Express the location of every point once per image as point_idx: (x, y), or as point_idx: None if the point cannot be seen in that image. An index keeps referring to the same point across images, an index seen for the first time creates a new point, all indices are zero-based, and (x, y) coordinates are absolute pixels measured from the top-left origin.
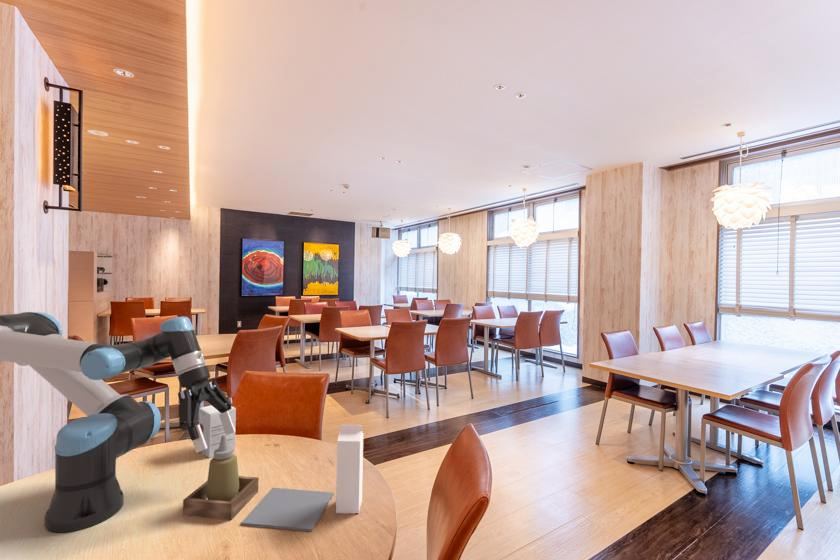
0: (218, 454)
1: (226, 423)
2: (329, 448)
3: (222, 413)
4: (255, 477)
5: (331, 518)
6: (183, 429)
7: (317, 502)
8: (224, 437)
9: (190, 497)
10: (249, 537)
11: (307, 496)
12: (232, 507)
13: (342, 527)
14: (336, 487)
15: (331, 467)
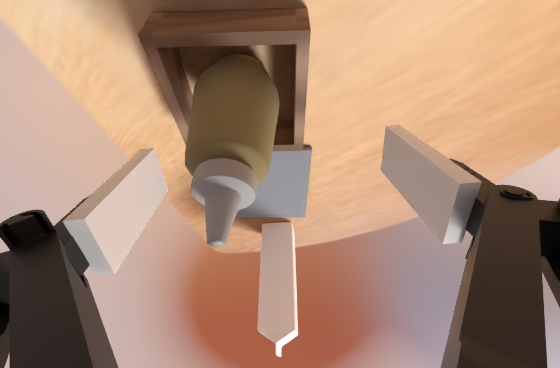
0: (193, 193)
1: (410, 173)
2: (494, 175)
3: (448, 212)
4: (302, 145)
5: (251, 222)
6: (13, 222)
7: (276, 210)
8: (212, 243)
9: (160, 47)
10: (174, 169)
11: (289, 198)
12: None
13: (238, 231)
14: (261, 256)
15: (395, 195)
